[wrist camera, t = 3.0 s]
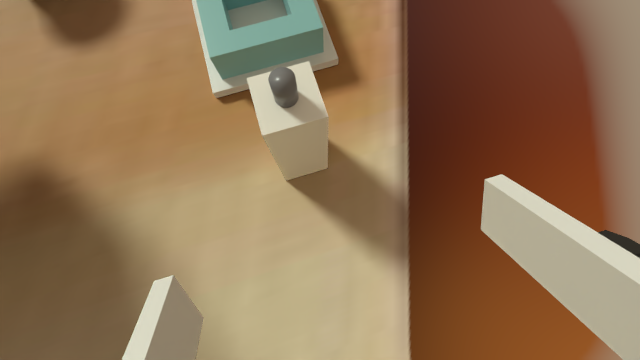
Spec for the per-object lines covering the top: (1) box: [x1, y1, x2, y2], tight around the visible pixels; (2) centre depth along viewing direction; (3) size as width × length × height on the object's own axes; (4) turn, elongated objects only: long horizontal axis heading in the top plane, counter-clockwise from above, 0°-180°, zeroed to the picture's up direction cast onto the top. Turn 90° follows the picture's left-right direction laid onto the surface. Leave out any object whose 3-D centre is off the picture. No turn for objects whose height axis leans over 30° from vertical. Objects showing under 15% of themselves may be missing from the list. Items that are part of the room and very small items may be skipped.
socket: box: [192, 0, 338, 98], centre depth 31 cm, size 14×14×4 cm
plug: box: [247, 61, 328, 181], centre depth 23 cm, size 4×4×13 cm
